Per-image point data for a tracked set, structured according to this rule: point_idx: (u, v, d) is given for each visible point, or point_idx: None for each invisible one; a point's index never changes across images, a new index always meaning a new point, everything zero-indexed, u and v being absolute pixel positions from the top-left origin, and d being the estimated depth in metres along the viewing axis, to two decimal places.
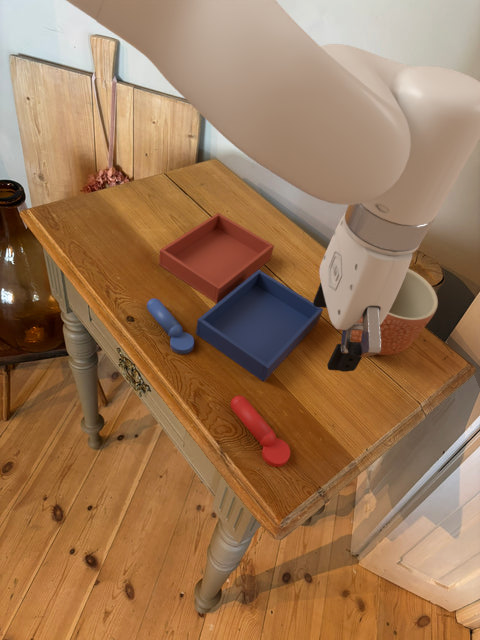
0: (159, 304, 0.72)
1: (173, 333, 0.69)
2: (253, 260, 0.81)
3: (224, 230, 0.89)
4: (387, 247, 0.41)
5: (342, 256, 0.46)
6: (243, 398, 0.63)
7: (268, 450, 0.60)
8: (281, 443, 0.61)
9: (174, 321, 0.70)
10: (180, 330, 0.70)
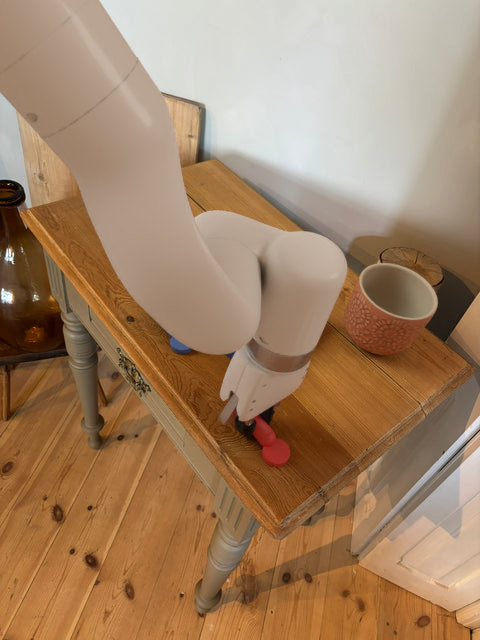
0: None
1: None
2: None
3: None
4: (249, 351, 0.48)
5: None
6: None
7: (268, 450, 0.60)
8: (281, 443, 0.61)
9: None
10: None
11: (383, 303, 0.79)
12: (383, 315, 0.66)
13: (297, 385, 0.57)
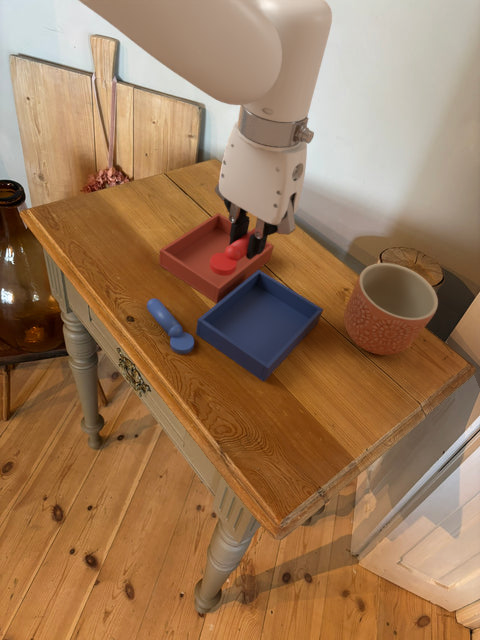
0: (159, 304, 0.72)
1: (173, 333, 0.69)
2: (253, 260, 0.81)
3: (224, 230, 0.89)
4: None
5: None
6: None
7: (221, 255, 0.63)
8: (231, 264, 0.62)
9: (174, 321, 0.70)
10: (180, 330, 0.70)
11: (383, 303, 0.79)
12: (383, 315, 0.66)
13: (270, 212, 0.56)
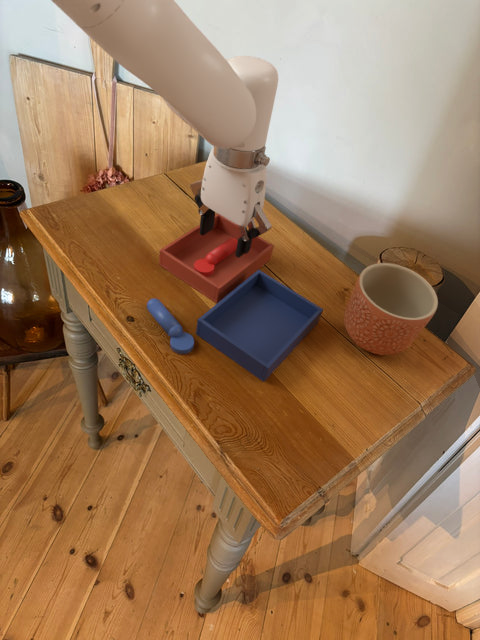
0: (159, 304, 0.72)
1: (173, 333, 0.69)
2: (253, 260, 0.81)
3: (224, 230, 0.89)
4: None
5: None
6: (235, 241, 0.85)
7: (202, 261, 0.82)
8: (210, 267, 0.81)
9: (174, 321, 0.70)
10: (180, 330, 0.70)
11: (383, 303, 0.79)
12: (383, 315, 0.66)
13: (240, 217, 0.74)
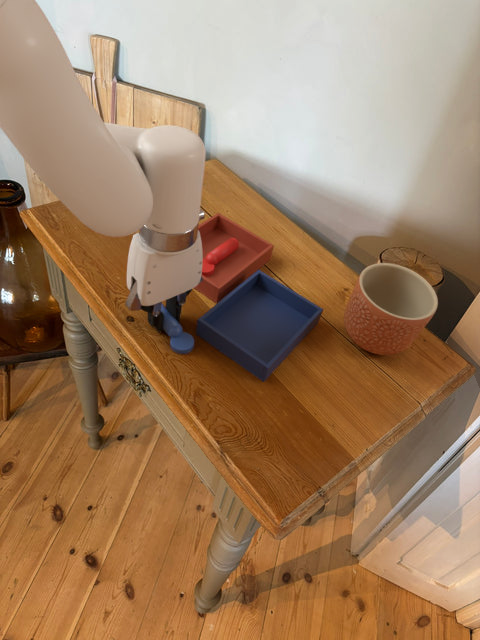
0: None
1: (173, 333, 0.69)
2: (253, 260, 0.81)
3: (224, 230, 0.89)
4: (140, 236, 0.58)
5: None
6: (235, 241, 0.85)
7: None
8: (210, 267, 0.81)
9: (174, 321, 0.70)
10: (180, 330, 0.70)
11: (383, 303, 0.79)
12: (383, 315, 0.66)
13: (195, 280, 0.67)
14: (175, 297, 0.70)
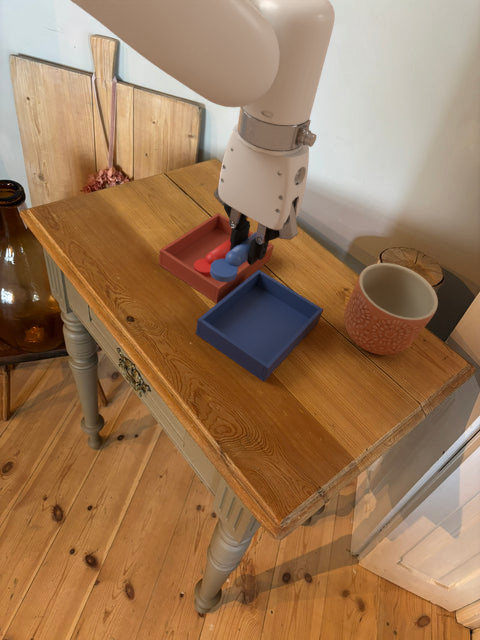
0: None
1: (227, 255, 0.61)
2: None
3: (224, 230, 0.89)
4: None
5: None
6: None
7: (202, 261, 0.82)
8: (210, 267, 0.81)
9: (241, 251, 0.61)
10: (233, 259, 0.60)
11: (383, 303, 0.79)
12: (383, 315, 0.66)
13: (272, 217, 0.55)
14: None
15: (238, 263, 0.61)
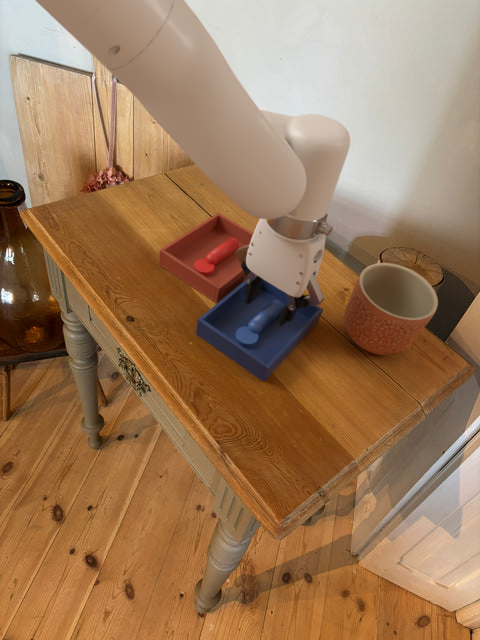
0: (275, 306, 0.75)
1: (249, 324, 0.72)
2: None
3: (224, 230, 0.89)
4: None
5: None
6: (235, 241, 0.85)
7: (202, 261, 0.82)
8: (210, 267, 0.81)
9: (261, 320, 0.72)
10: (254, 328, 0.72)
11: (383, 303, 0.79)
12: (383, 315, 0.66)
13: (293, 288, 0.64)
14: None
15: (259, 331, 0.72)
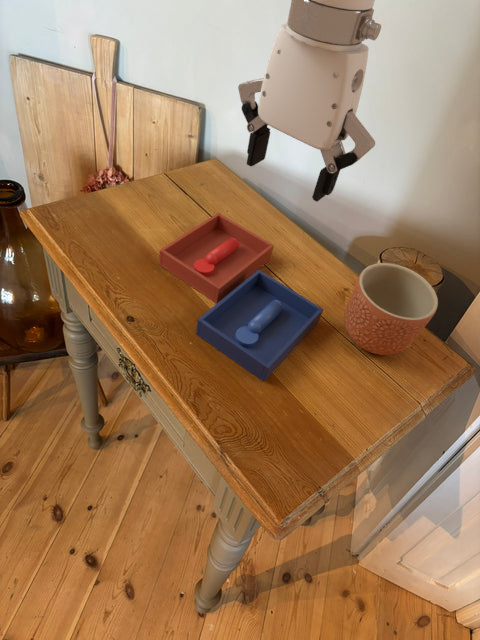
0: (275, 306, 0.75)
1: (249, 324, 0.72)
2: (253, 260, 0.81)
3: (224, 230, 0.89)
4: None
5: None
6: (235, 241, 0.85)
7: (202, 261, 0.82)
8: (210, 267, 0.81)
9: (261, 320, 0.72)
10: (254, 328, 0.72)
11: (383, 303, 0.79)
12: (383, 315, 0.66)
13: (321, 133, 0.48)
14: None
15: (259, 331, 0.72)
